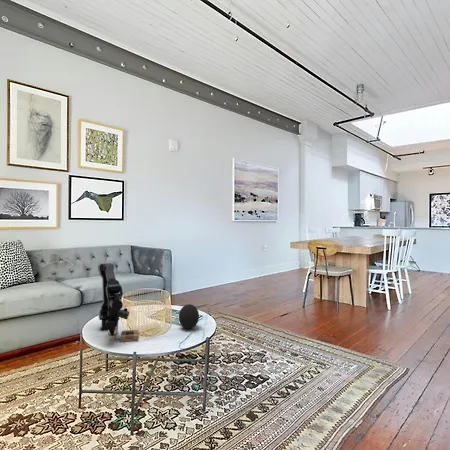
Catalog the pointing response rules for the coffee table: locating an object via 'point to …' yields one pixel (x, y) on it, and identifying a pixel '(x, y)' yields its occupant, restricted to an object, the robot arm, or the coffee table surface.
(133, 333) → the brown square frame
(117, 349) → the coffee table surface
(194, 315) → the decorative egg
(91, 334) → the coffee table surface
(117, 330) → the peg
